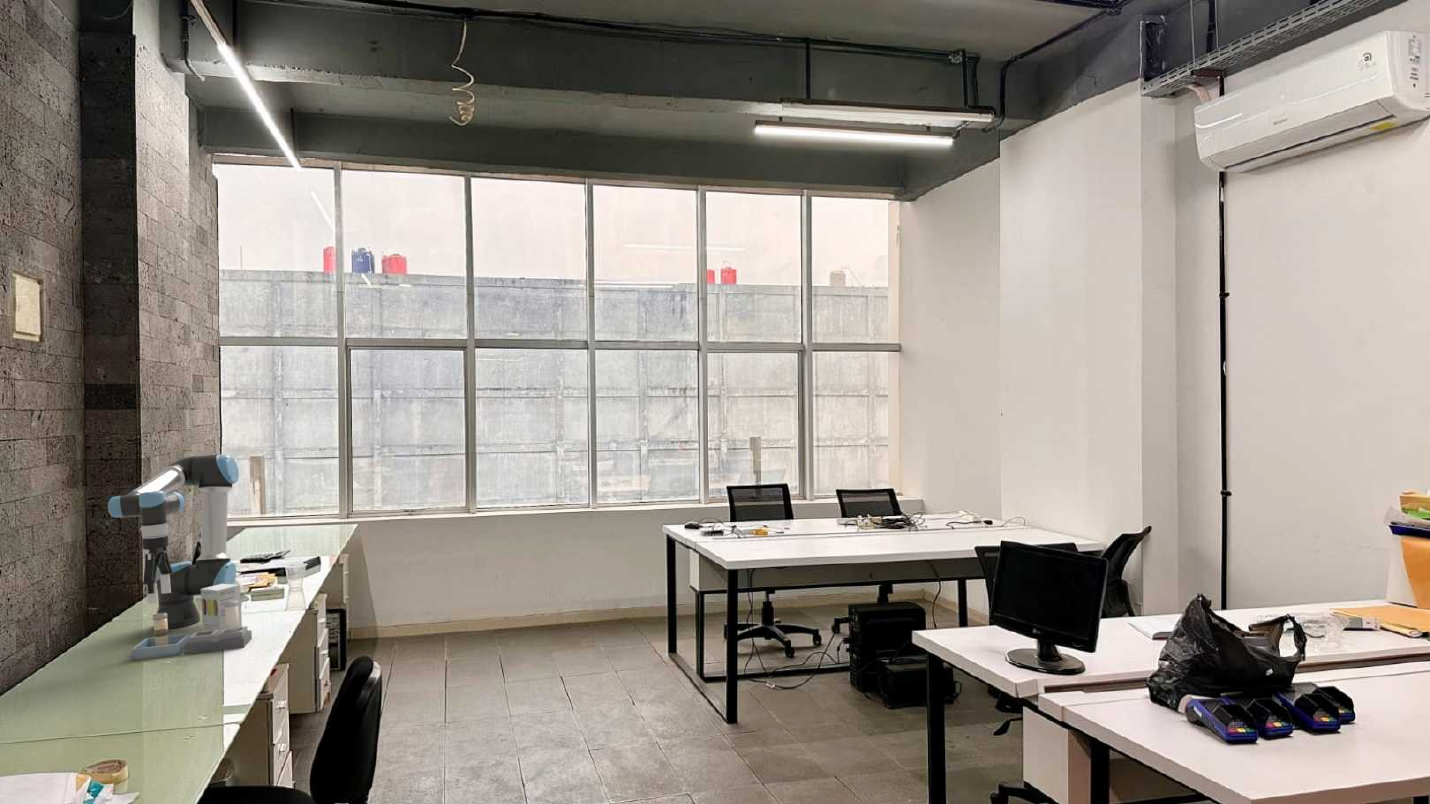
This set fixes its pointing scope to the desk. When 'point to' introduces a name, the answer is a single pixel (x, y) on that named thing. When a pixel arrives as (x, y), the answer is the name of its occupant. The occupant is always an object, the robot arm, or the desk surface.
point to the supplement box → (218, 605)
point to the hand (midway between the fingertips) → (159, 597)
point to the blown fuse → (161, 629)
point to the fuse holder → (221, 634)
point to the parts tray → (160, 647)
